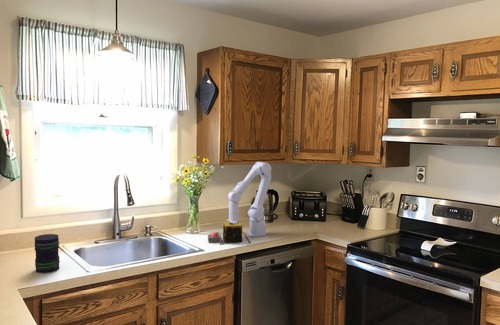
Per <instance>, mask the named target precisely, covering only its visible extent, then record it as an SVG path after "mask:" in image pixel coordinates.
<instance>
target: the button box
mask: <svg viewBox="0 0 500 325" xmlns="http://www.w3.org/2000/svg"><path fill="white" fill-rule="evenodd" d="M217 235H218V237H211V234H207V242H208V244H217V243H218V244H220V243H222V241H221V237H222V236H221V237H220V235H221V234H220V235H219V234H217Z"/></svg>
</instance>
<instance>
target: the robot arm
mask: <svg viewBox="0 0 500 325" xmlns="http://www.w3.org/2000/svg"><path fill="white" fill-rule="evenodd" d="M251 167H252V168H251V169H250V170H249V172H248V173H247V175H246V176H245V178H244V179H243V180H242V181H238V182H237V184H236V185H235V187H234V188H232V191H229V193H228V194H227V197H226V198H227V200H228V218H227V219H226V222H232V223H233V224H234V225H236V224H237V223H238V222H240V219H239V214H240V211H239V210H240V207H239V206H240V205H239V204H240V201H241V198H242V196H243V194H244V193H245V192H246V190H248V185H249V184H250V183H251V181H252V180H253V179H254V178H255V177H256V176H258V175H259V176H260V177H261V179H260V183H259V186H258V189H257V193H256V196H255V200H254V202H253V203H252V204H251V206H250V208H249V209H248V211H247V216H248V217H249V231H248V232H247V234H248V235H249V237H264V236H267V234H266V226H267V225H266V220H265V219H264V217H265V214H264V213H265V208H264V204H265V201H266V200H265V199H266V198H267V197H266V196H267V193H268V189H269V188H270V185H271V184H270V183H271V181H272V166H271V164H270V163H268V162H263V161H256V162H254V164H253V166H251Z"/></svg>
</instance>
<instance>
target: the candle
mask: <svg viewBox="0 0 500 325" xmlns="http://www.w3.org/2000/svg"><path fill="white" fill-rule="evenodd" d="M222 223H223V224H222V239H223V242H224V244H242V243H243V226H244V225H243V223H241V221H239V222H238V223H237V224H236V225H234V224H233V223H232V222H229V221H223V222H222Z"/></svg>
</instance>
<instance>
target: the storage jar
mask: <svg viewBox="0 0 500 325" xmlns="http://www.w3.org/2000/svg"><path fill="white" fill-rule="evenodd" d="M59 240H60V238H59V235H58V234H56V233H47V234H41V235H40V234H39V235H36V236H35V237H34V251H35V259H34V266H35V272H36V273H37V274H49V273H50V274H51V273H55V272H58V271H59V270H60V255H59V248H60V241H59Z"/></svg>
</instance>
